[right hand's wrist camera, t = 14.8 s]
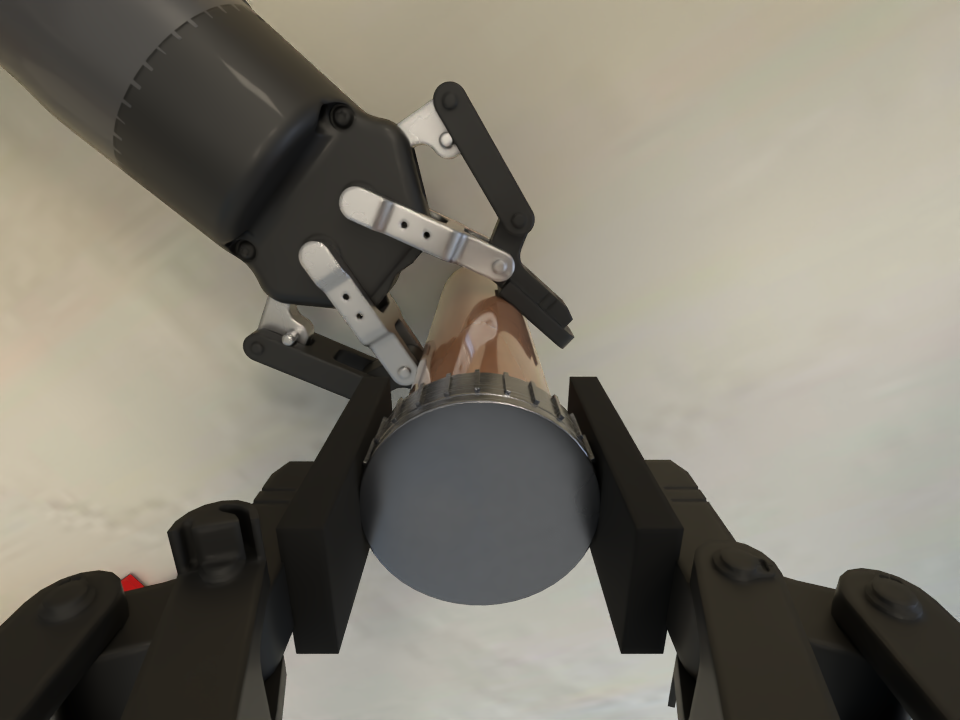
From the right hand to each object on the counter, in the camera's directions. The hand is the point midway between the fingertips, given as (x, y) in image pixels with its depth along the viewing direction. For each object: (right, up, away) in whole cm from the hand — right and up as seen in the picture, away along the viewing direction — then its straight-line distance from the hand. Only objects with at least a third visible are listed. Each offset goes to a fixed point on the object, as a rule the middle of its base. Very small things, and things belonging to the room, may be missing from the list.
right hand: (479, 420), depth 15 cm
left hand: (+2, +1, +8) cm, 8 cm away
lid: (0, -1, -4) cm, 4 cm away
